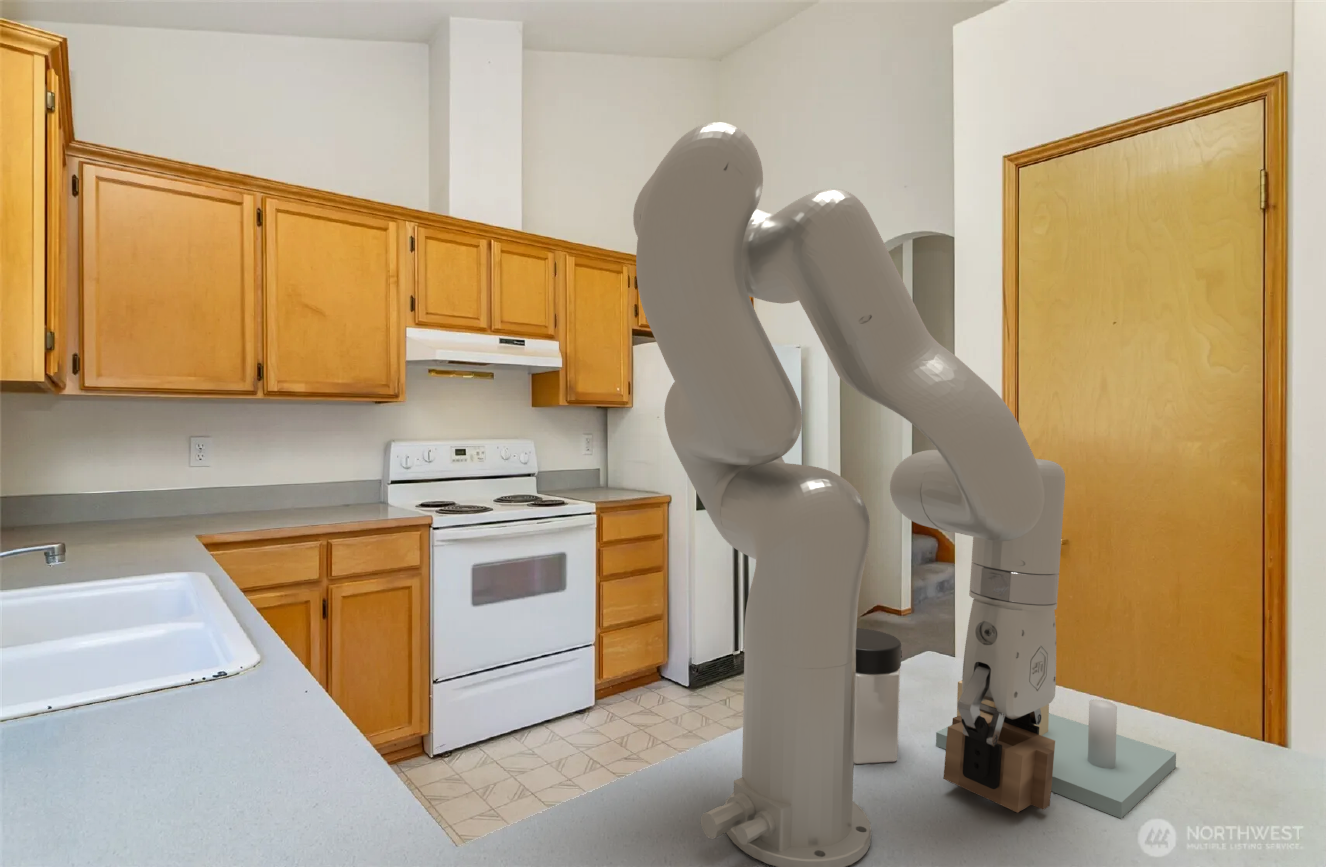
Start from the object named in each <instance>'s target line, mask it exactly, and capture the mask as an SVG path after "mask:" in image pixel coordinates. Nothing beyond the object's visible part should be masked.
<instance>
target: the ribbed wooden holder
mask: <svg viewBox="0 0 1326 867" xmlns="http://www.w3.org/2000/svg"><path fill="white" fill-rule="evenodd" d="M980 716H981V717H984V718H985V720H986V722H987V724H988V726H989V727H990V724H991V720H992V717H989V716H986V715H983V714H982V715H980ZM961 719H962V718H961V716H957V715H956V716H954V717H952V723H951V724H950V725H951V726H950V725H949V727H948V726H947V727H948V730H947V742H946V749H945V754H944V755H945V758H944V766H943V777H942V778H943V780H946V781H948V782H950V783H952V784H954V785H956V786H959V787H960V788H963V789H965V790H967V791H970V792H971V793H974V794H976V795H978V796H980V797H982V798H985V799H987V800H989V801H991V802H994V803H995V804H998V805H1000V806H1002V807H1005V808H1007V809H1009V810H1011V811H1013V812H1016V813H1020V812H1021V811H1023V810H1025V809H1026V808H1028V807H1030V806H1033V807H1036V808H1038V809H1040V810H1045V809H1047V808H1049V807H1050V805H1051V794H1052V791H1051V786H1052V774H1053V762H1054V750H1055V740H1052V739H1049V738H1047V737H1044V736H1041V735H1038V734H1036V733H1032V732H1029V731H1027V730H1024V729H1021V728H1018V727H1016V726H1013V725H1010V724H1007V723H1005V722H1003V725H1002V728H1001V732H1000V735H999V739H998V742H997V743H998V744H1000V745H1002V755H1001V769H1000V784H999V787H998V788H996V789H991V788H989V787H987V786H984V785H982V784H980V783H977V782H975V781H973V780H971V779H968V778H966V777H965V776H964V775H963V758H964V744H965V735H964V734H963V727H964V726H963V724H962V720H961Z"/></svg>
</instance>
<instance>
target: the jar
mask: <svg viewBox="0 0 1326 867" xmlns="http://www.w3.org/2000/svg"><path fill="white" fill-rule="evenodd" d="M902 651H903V650H902V641H901V640H900V639H898V638H897V637H896V636H894V635H892V634H890V633H887V632H883V631H878V630H874V629H869V628H862V627H861V628H858V627H857V629H856V683H855V725H854V764H856V765H861V764H877V763H878V764H879V763H891V762H896V761H897V760H898V751H899V735H900V734H899V732H900V731H899V730H900V729H899V727H900V725H899V724H900V720H899V719H900V694H901V693H900V690H901V688H900V686H901V685H900V684H901V667H902V658H903V656H902V655H903V654H902V653H903V652H902Z"/></svg>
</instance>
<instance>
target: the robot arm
mask: <svg viewBox="0 0 1326 867" xmlns="http://www.w3.org/2000/svg"><path fill="white" fill-rule="evenodd" d="M763 183H764V173H763V166H762V161H761V158H760V155H759V152H758V149H757V148H756V146H755V144H754V143H753V141H752V139H751V138H750V137H749V136H748V135H747V134H746V132H744V131H743V130H742V129H741V128H739V127H738V126H735V125H734V124H731V123H728V122H723V121H714V122H713V121H712V122H706V123H704V124H700V125H698V126H696V127H694V128H693V129H691V130H689V131H688V132H686V133H685V134H684V135H683V136H681V137H680V138H679V139H678V140H677V141H676V142H675V143H674V144H673V146H672V147H671V148H670V149H669V151H668V152H667V153H666V155H665V156H664V157H663V159H662V160H661V162H660V163H659V164H658V166H657V167H656V169H655V171H654V172H653V174H652V175H651V176H650V178H648V180H647V181H646V183H645V184H644V185H643V186H642V188H641V190H640V192H639V193H638V195H637V199H636V201H635V203H634V209H633V215H632V216H633V227H634V231H635V235H636V237H637V239H636V240H637V242H636V258H635V259H636V260H635V262H636V264H635V265H636V280H637V281H636V282H637V283H636V284H637V290H638V295H639V299H640V303H641V306H642V310H643V314H644V315H645V319H646V321H647V323H648V326H649V328H650V331H651V333H652V335H653V337H654V339H655V341H656V343H657V345H658V349H659V351H660V353H661V355H662V357H663V359H664V362H665V364H666V367H667V368H668V370H669V372H670V374H671V376H672V378H673V381H674V382H673V384H672V385H671V386H670V389H669V390H668V393H667V395H666V399H665V402H664V422H665V427H666V432H667V435H668V438H669V441H670V443H671V445H672V448H673V450H674V451H675V453H676V455H677V457H678V459H679V462H680V464H681V466H682V468H683V469H684V471H685V473H686V475H687V477H688V478H689V481H690V483H691V484H692V486H693V488H694V490H695V492H696V495H697V496H698V498H699V500H700V501H701V504H702V505H703V507H704V508H705V510H706V512H707V514H708V516H709V518H710V520H711V521H712V524H713V525H714V526H715V528H716V530H717V531H718V533H719V534H720V535H721V537H722V538H723V539H724V540H725V541H726V543H728V544H729V545H730V546H731V547H732V548H734V549H735V550H737V551H738V552H740V553H741V554H744V555H745V556H747V557H749V558H752V559H754V560H755V568H754V572H753V576H752V581H751V585H750V589H749V593H748V597H747V602H746V609H745V618H744V629H743V630H744V633H743V634H744V638H743V641H744V642H743V648H744V657H743V658H744V660H743V661H744V662H743V664H744V666H743V703H742V706H743V712H742V751H741V752H742V755H741V756H742V758H741V759H742V760H741V763H742V764H741V777H739V778H737V779H735V780H734V781H733V792H732V793H731V794H730V795H729V796H728V798H727V799H726V800H725V803H724V805H720V806H717V807H715V808H712V809H710V810H709V811H707V812H704V813H702V815H701V816H700V825H701V829H702V832H704V835H705V836H706V837H707V838H708V839H710V840H711V839H712V840H713V839H715V838H717V837H719V836H722V835H725V833H726V835H727V836H728V838H729V839H730V840H731V841H732V843H733V844H735V845H736V847H737V848H739V849H740V850H741V851H742V852H743V853H744V854H747V855H749V856H750V857H752V858H754V859H756V860H757V861H760V862H762V863H765V864H767V865H771V866H773V867H848V866H852V865H854V863H856V862H857V861H859V860H861V859H862V858H863V857H864V856H865V854H866V853H867V852H868V850H869V849H870V846H871V841H872V840H871V839H872V826H871V822H870V819H869V818H868V815H867V813H866V812H865V811H864V810H863V809H862V808H861V806H860V805H859V804H857V803H856V802H855V801H854V800H853V798H854V767H855V766H854V764H855V763H854V725H855V683H856V629H857V628H858V626H857V625H858V611H859V610H858V608H859V601H860V600H859V599H860V593H861V592H860V590H861V585H862V579H863V574H864V570H865V567H866V566H865V565H866V561H867V559H868V558H867V557H868V552H869V546H870V541H871V522H870V516H869V515H870V514H869V512H868V508H867V506H866V503H865V501H864V500H863V498H862V496H861V494H860V492H858V490H857V489H856V488H855V486H853V485H852V484H851V483H850V482H849V481H848V480H846V479H845V478H844V477H842V476H841V475H838V474H837V473H835V472H833V471H830V470H827V469H826V468H822V467H818V466H812V465H807V464H805V465H804V464H796V463H788V462H785V460H784V458H783V456H785V455H787V453H788V452H790V451H791V450H792V449H793V447H794V446H795V445H796V442H797V441H798V439H799V437H800V434H801V431H802V425H803V417H802V416H803V415H802V409H801V408H802V407H801V404H800V403H801V402H800V401H799V398H798V396H797V393H796V391H795V388H794V387H793V384H792V383H791V381H790V379H789V376H788V375H787V373H786V371H785V369H784V367H783V365H782V363H781V361H780V359H779V357H778V355H777V353H776V350H775V349H774V347H773V345H772V343H771V341H770V339H769V336H768V335H767V333H766V331H765V329H764V326H763V325H762V323H761V321H760V319H759V317H758V315H757V312H756V310H755V308H754V305H753V301H752V300H751V298H754V299H758V300H761V301H764V302H769V303H774V304H780V305H781V304H791V303H795V302H796V303H797V302H799V303H800V305H801V307H802V309H803V310H804V313H805V314H806V316H807V318H808V320H809V321H810V323H811V326H812V327H813V330H814V331H815V333H816V335H817V337H818V338H819V341H820V343H821V344H822V346H823V348H824V350H825V352H826V354H827V357H828V358H829V360H830V362H831V364H832V366H833V369H834V370H835V372H836V374H837V377H839V378H840V379H841V381H842V382H843V383H845V385H847V386H848V387H850V388H851V389H853V390H854V391H856V392H857V393H859V394H860V395H862V396H864V397H865V398H867V399H869V400H871V401H873V402H875V403H877V404H879V405H881V406H883V407H886V408H887V409H889V410H890V411H892V412H894V413H896V414H898V415H899V416H901V417H902V418H903V419H905V420H907V421H908V422H909V423H910V424H911V425H912V426H914V427H915V428H916V429H917V430H919V432H921V433H922V435H923V436H924V437H926V438H927V439H928V440H929V441H930V443H931V444H932V445H933V446H934V448H935V449H927V450H922V451H918V452H916V453H913V454H911V455H909V456H907V457H905V458H904V459H902V461H900V463H898V465H897V466H896V468H895V469H894V471H893V472H892V475H891V478H890V482H889V491H890V496H891V500H892V502H893V504H894V506H895V507H896V509H897V510H898V511H899V512H900V513H901V514H902V515H903V516H904V517H906V518H907V519H908V520H910V521H911V522H913V523H916V524H917V525H920V526H924V527H928V528H932V529H935V530H940V531H943V532H948V533H956V534H959V535H965V536H969V537H972V547H971V548H972V550H971V564H970V565H971V567H970V579H969V580H970V581H969V597H970V598H972V603H971V608H970V613H969V620H968V625H967V630H966V638H965V644H964V655H963V661H962V662H963V663H962V677H961V678H962V679H961V680H962V695H961V697H960V699H959V701H958V704H957V703H956V708H957V707H958V710H959V712H960V715H961V718H962V719H961V720H962V724H963V726H964V727H963V734H964V735H965V744H964V758H963V775H964V776H965V777H966V778H968V779H971V780H973V781H975V782H977V783H980V784H982V785H984V786H987V787H989V788H991V789H996V788H998V787H999V784H1000V769H1001V755H1002V745H1000V744H998V743H997V742H998V739H999V735H1000V732H1001V728H1002V725H1003V721H1004V722H1005V723H1007V724H1010V725H1013V726H1016V727H1018V728H1021V729H1024V730H1027V731H1029V732H1032V733H1036V734H1038V735H1039V727H1038V726H1035V725H1034V724H1036V725H1039V724H1040V723H1041V719H1042V716H1041V710H1040V708H1042V707H1044V706H1046V705H1048V704H1049V705H1050V704H1051V703H1052V702H1053V701H1054V698H1055V697H1056V686H1057V684H1056V681H1057V625H1056V623H1057V622H1056V614H1055V613H1056V612H1055V610H1057V608H1058V595H1059V582H1060V581H1059V580H1060V566H1061V565H1060V564H1061V549H1062V534H1063V520H1064V507H1065V506H1064V505H1065V490H1066V474H1065V471H1064V468H1063V467H1062V466H1061V465H1060V464H1059V463H1057V462H1055V461H1053V460H1049V459H1043V458H1042V459H1041V458H1040V459H1039V458H1036V457H1035V456H1034V454H1033V453H1034V452H1033V451H1032V449H1031V447H1030V445H1029V443H1028V441H1027V439H1026V437H1025V435H1024V434H1025V433H1023V430H1022V428H1021V427H1020V424H1019V423H1018V421H1017V419H1016V417H1015V416H1014V414H1013V412H1012V411H1011V409H1010V408H1009V406H1008V404H1006V402H1005V401H1004V400H1003V398H1001V397H1000V395H999V394H998V393H997V392H996V390H994V389H993V388H992V387H991V386H990V385H989V384H988V383H987V382H986V381H985V380H984V379H982V378H981V377H980V376H979V375H978V374H977V373H975V372H974V371H973V370H972V369H971V368H970V367H968V365H966V364H965V363H964V362H963V361H962V360H961V359H960V358H958V357H957V356H956V355H955V354H954V353H952V352H951V351H950V350H948V349H947V348H946V347H944V346H943V345H941V343H939V342H938V341H937V340H936V339H935V338H934V337H933V336H932V335H931V333H930V332H929V330H928V329H927V327H926V325H925V323H924V321H923V319H922V318H921V315H920V313H919V310H918V309H917V306H916V305H915V303H914V301H913V299H912V297H911V295H910V292H909V291H908V289H907V287H906V284H905V283H904V281H903V278H902V276H901V274H900V273H899V271H898V268H897V267H896V264H895V262H894V261H893V258H892V256H891V254H890V252H889V250H888V248H887V246H886V243H885V242H884V240H883V238H882V236H881V234H880V232H879V231H878V228H877V225H876V224H875V222H874V221H873V219H872V216H871V215H870V212H869V211H868V209H867V208H866V207H865V205H864V203H863V202H862V201H861V200H860V199H859V198H858V197H857V196H856V195H854V194H853V193H851V192H849V191H847V190H844V189H839V188H838V189H837V188H828V189H826V188H825V189H820V190H817V191H814V192H813V191H812V192H811V193H808V194H805V195H803V196H802V197H800V198H798V199H797V200H795V201H793V202H791V203H790V204H788V205H787V206H785V207H783V208H781V210H778V211H777V212H776V213H773V212H769V211H764V210H761V209H759V208H758V206H759V203H760V201H761V196H762V193H763V186H764V185H763ZM984 700H989V701H992V702H994V703H995V706H996V708H994V707H991V706H988V705H985V704H982V703H981V702H982V701H984ZM980 711H981V712H984V713H986V714H989V715H992V716H993V717H992V720H991V724H990V727H989V726H988V724H987V722H986V720H985V718H984V717H981V716H980Z"/></svg>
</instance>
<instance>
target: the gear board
mask: <svg viewBox="0 0 1326 867" xmlns="http://www.w3.org/2000/svg"><path fill="white" fill-rule="evenodd" d="M961 695H962V679H961V680H959V681H957V696H956V697H957V698H956V705H957V704H958V701H959V699H960V697H961ZM981 703H982V704H985V705H988V706H991V707H994V708H996V706H995V703H994V702H992V701H989V700H984V701H982V702H981ZM1088 704H1089V705H1088V724H1085V723H1081V722H1079V721H1076V720H1072V719H1069V718H1065V717H1063V716H1060V715H1057V714H1054V713H1050V712H1049V711H1050V703H1049V704H1048V705H1046V706H1044V707H1042V708H1040V710H1041V716H1042V719H1041V723H1040V724H1039V725H1036V724H1034V725H1035V726H1038V727H1039V735H1041V736H1044V737H1047V738H1049V739H1052V740H1055V750H1054V762H1053V774H1052V786H1051V793H1055V794H1057V795H1060V796H1062V797H1065V798H1068V799H1070V800H1073V801H1075V802H1078V803H1081V804H1082V805H1086V806H1088V807H1091V808H1092V809H1095V810H1099V811H1100V812H1103V813H1106V814H1108V815H1111V816H1113V817H1115V818H1118V819H1121V820H1122V819H1123V818H1124V817H1125V816H1126V815H1127V814H1128V813H1129V812H1130V811H1131V810H1133V808H1134V807H1135V806H1136V805H1137V804H1139V802H1141V801H1142V800H1143V799H1144V798H1145V797H1146V796H1147V795H1149V793H1150V792H1151V791H1152V790H1153V789H1154V788H1155V787H1156V786H1157V785H1158V784H1159V783H1161V782H1162V781H1163V780H1164V779H1165V778H1166V777H1167V776H1168V775H1169V774H1170V773H1171V772H1172V771H1173V770H1174V769H1175V768H1176V766H1177V765H1176V764H1177V752H1174V751H1171V750H1169V749H1166V748H1161V747H1158V746H1155V745H1153V744H1150V743H1149V744H1148V743H1146V742H1142V741H1140V740H1136V739H1133V738H1130V737H1127V736H1123V735H1120V734H1118V733H1117V727H1118V726H1117V724H1118V723H1117V722H1118V721H1117V720H1118V719H1117V718H1118V706H1117V705H1116V704H1114V703H1113V702H1111V701H1110V702H1109V701H1108V700H1103V699H1090V700H1088ZM982 714H983V715H986V716H989V717H993V716H992V715H989V714H986V713H984V712H981V711H980V715H982ZM957 716H961V715H960V712H959V710H958V707H957V706H956V717H957ZM1003 722H1004V721H1003ZM951 725H952V724H950V725H949V726H951ZM949 726H946V727H944V728H942V729H940V730H938V731H936V732H935V733H936V734H935V735H936V736H935V738H936V739H935V741H936V742H935V746H936V747H938V748H941V749H943V750H946V742H947V730H948V727H949Z"/></svg>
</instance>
